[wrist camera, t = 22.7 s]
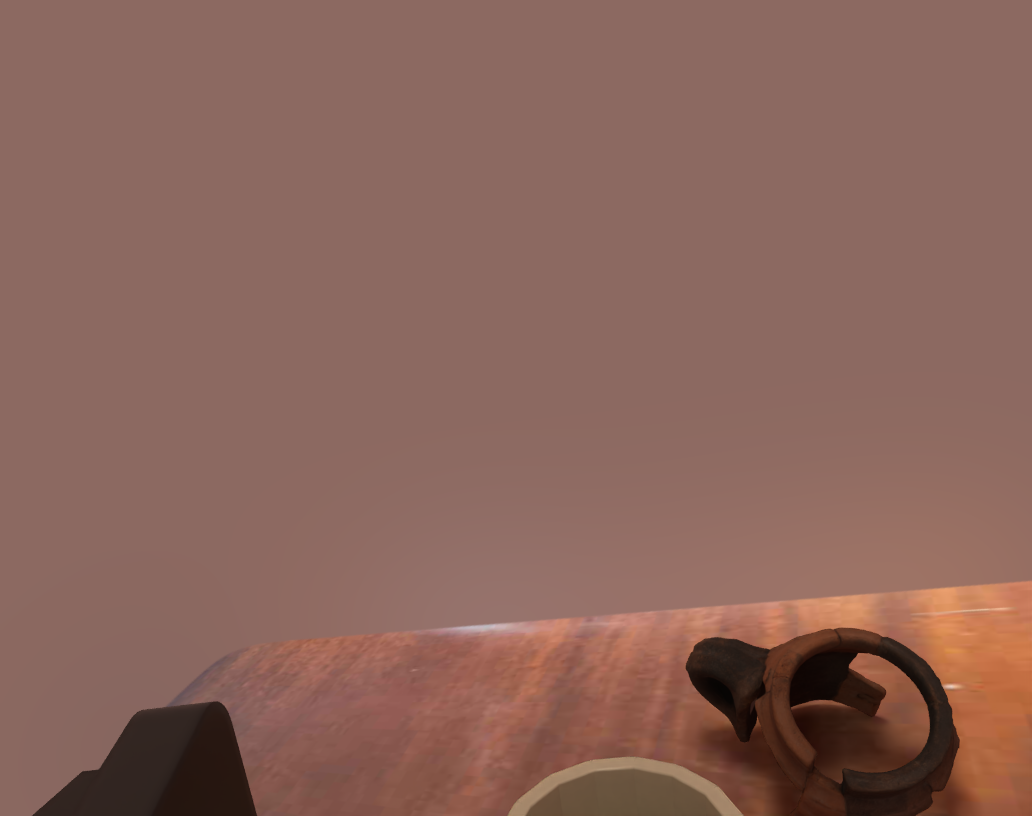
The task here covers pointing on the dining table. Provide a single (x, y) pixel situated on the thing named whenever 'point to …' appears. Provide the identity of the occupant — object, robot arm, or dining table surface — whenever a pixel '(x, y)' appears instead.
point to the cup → (625, 791)
